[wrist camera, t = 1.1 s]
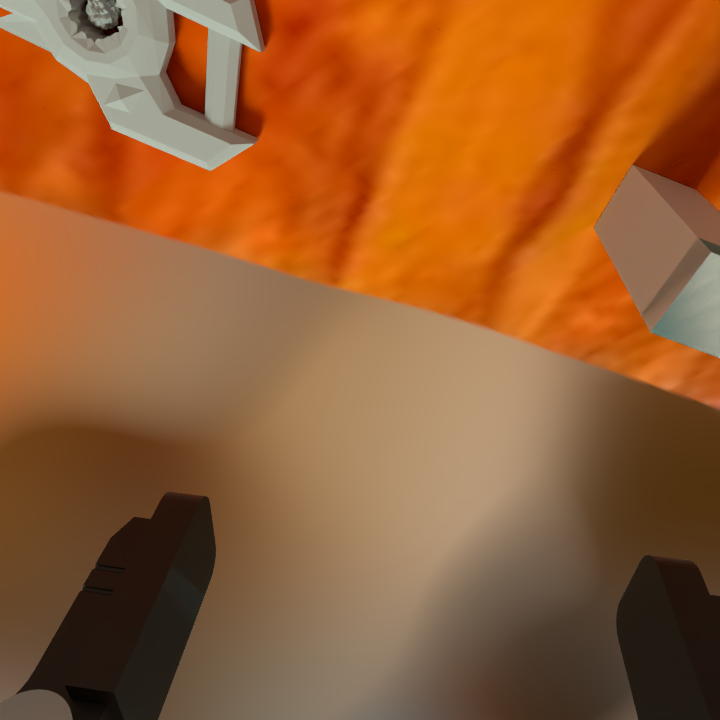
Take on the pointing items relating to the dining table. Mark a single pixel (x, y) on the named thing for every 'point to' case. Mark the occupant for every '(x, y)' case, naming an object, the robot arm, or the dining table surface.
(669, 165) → the dining table surface
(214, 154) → the gun
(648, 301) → the plug
